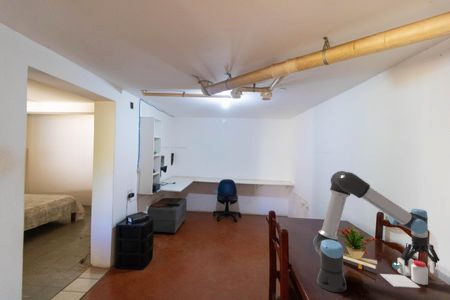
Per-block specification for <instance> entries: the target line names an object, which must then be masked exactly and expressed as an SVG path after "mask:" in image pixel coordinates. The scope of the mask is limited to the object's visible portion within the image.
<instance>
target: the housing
mask: <svg viewBox="0 0 450 300" xmlns="http://www.w3.org/2000/svg"><path fill="white" fill-rule="evenodd" d="M409 261H410V273H408V272H407V271H406V266H405V265H404V260H403V259H402V258H401V257H397V264H403V269H397V272H398V273H399V274H400V275H404V276H406V277H411V265H412V264H413V263H414V261H415V260H414V259H413V258H411V259H410V260H409Z"/></svg>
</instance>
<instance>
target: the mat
mask: <svg viewBox="0 0 450 300" xmlns="http://www.w3.org/2000/svg"><path fill="white" fill-rule="evenodd" d="M379 275H380V276H381V277H382V278H384V279H385V280H386V281H387V282H388V283H389V284H390V285H392V286H393V287H394V288H411V289H421V286H419V285H418V283H415V282H414V281H412V280H411V278H408V276H404V275H402V274H391V273H390V274H387V273H379Z"/></svg>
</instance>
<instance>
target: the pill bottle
mask: <svg viewBox="0 0 450 300" xmlns="http://www.w3.org/2000/svg"><path fill="white" fill-rule="evenodd" d="M410 280H411V281H412V282H414V283H415V284H417V285H418V284H419V285H423V286H426V285H429V269H428V267H427V265H426V263H425V262H424V261H422V260H414V263H413V264H412V265H411V276H410Z"/></svg>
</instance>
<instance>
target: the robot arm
mask: <svg viewBox="0 0 450 300" xmlns="http://www.w3.org/2000/svg"><path fill="white" fill-rule="evenodd" d="M329 191H330V192H331V195H330V199H329V202H328V206H327V209H326V213H325V217H324V220H323V223H322V227H321V229H319V230H318V232H317V235H316V236H315V237H314V239H313V247H314V250H315V251H316V253H317V254H318V256H319V257H320V269H319V272H318V275H317V279H316V284H317V285H318V286H319V287H321V288H322V289H323V290H326V291H328V292H333V293H342V292H345V291H346V290H347V281H346V278H345V275H344V252H345V251H344V247H343V245H342V243H340V242H339V238H338V236H337V233H338V231H339V226H340V222H341V218H342V215H343V212H344V208H345V204H346V200H347V198H349V197H350V196H351V195H353V196H355V197H356V198H358V199H363V200H364V201H365V202H367V203H369V204H370V205H372V206H373V207H375V208H376V209H378V210H379V211H381V212H382V213H383V214H385V215H387V216H388V221H389V223H390V224H391V225H393V226H400V227H403V228H405V229H406V230H410V231H411V232H410V233H411V242H412V243H408V242H407V243H406V244H405V248H404V250H403V251H402V253H401V255H400V258H402V259H403V260H404V265H405V266H406V271H407V272H408V273H410V261H409V260H410V259H412V257H413V256H414V255H415V254H417V253H425V255H426V256H427V257H428V258H429V259H430V260H429V272H430V273H431V274H432V275H435V274H436V271H435V270H436V267H437V263H438V262H440V260H441V259H440V258H439V256H438V254H437V252H436V250H435V248H434V244H431V243H429V239H428V237H429V233H428V229H429V227H428V220H429V218H428V212H427V211H426V210H425V209H420V208H411V209H410V212H409V211H407V210H405V209H404V208H403V207H401V206H400V205H398V204H396V202H394V201H393V200H391V199H389V198H387V196H384V195H383V194H381V193H379V192H378V191H377V190H375V189H374V188H372V187H371V185H370V184H369V183H368V182H366V181H365V180H363V179H362V178H361V177H360V176H358V175H357V174H355V173H353V172H350V171H344V170H339V171H336V172H334V173H333V174H332V175H331V177H330V188H329ZM428 249H429V250H428Z"/></svg>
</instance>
